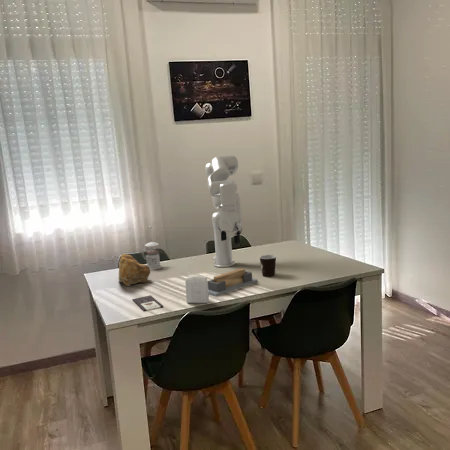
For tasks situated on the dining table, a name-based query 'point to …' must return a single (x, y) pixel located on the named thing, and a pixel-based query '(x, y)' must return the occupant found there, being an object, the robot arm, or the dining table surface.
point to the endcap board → (221, 287)
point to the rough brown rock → (132, 270)
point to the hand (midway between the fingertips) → (230, 241)
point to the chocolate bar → (147, 303)
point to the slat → (231, 277)
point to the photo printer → (197, 289)
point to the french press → (156, 257)
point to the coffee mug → (268, 265)
